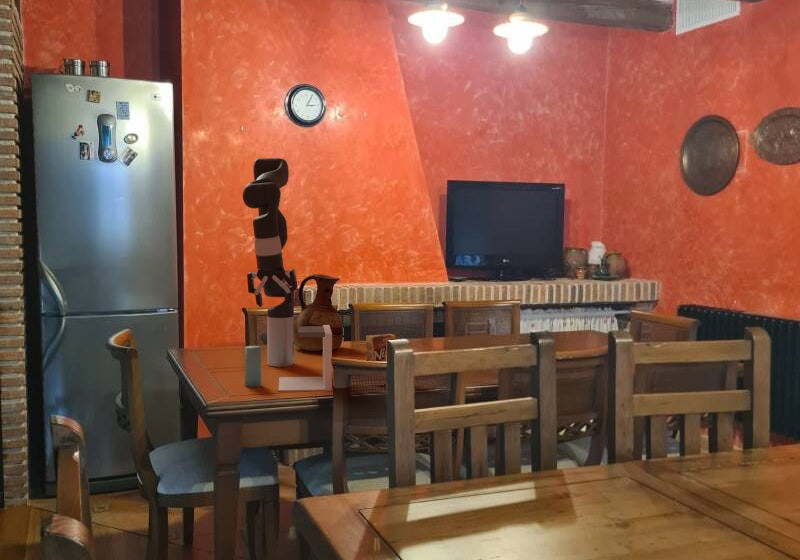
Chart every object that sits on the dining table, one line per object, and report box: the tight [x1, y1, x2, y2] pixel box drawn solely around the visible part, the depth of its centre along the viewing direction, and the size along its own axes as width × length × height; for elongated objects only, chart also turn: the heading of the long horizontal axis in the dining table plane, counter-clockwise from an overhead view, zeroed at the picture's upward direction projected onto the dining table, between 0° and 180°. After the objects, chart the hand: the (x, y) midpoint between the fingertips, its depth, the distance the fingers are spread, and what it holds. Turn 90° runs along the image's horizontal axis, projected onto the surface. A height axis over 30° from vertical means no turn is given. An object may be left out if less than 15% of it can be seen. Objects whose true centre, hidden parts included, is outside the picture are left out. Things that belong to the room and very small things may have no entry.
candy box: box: [365, 333, 396, 361], centre depth 245 cm, size 9×4×15 cm, turn 123°
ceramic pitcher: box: [294, 273, 344, 352], centre depth 300 cm, size 20×20×30 cm
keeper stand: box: [278, 325, 333, 392], centre depth 240 cm, size 18×16×18 cm
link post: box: [244, 345, 262, 388], centre depth 238 cm, size 5×5×12 cm
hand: (274, 305), depth 226 cm, fingers open, 8 cm apart
